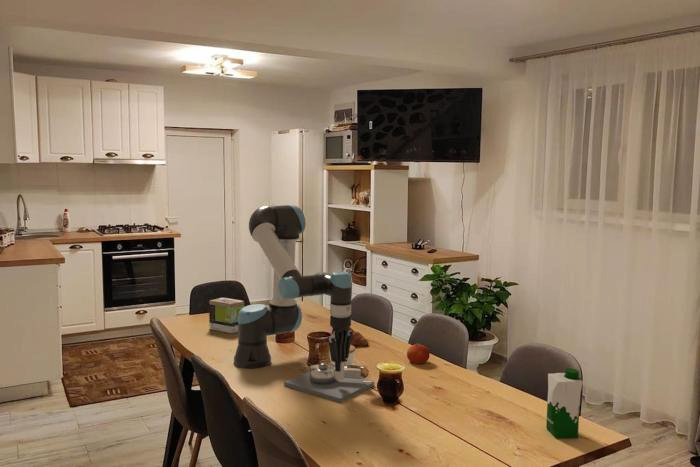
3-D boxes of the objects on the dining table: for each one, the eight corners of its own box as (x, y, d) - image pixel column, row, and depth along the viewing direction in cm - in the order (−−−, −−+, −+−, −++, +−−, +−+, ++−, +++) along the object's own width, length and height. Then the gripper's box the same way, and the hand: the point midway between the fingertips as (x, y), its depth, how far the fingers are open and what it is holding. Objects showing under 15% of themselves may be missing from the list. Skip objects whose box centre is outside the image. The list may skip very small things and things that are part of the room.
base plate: (284, 385, 221) (284, 381, 220) (319, 370, 237) (319, 366, 237) (340, 402, 205) (340, 398, 205) (374, 385, 222) (374, 381, 222)
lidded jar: (352, 371, 238) (352, 348, 237) (325, 368, 240) (326, 346, 239) (357, 362, 248) (357, 340, 247) (331, 360, 250) (332, 338, 249)
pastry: (359, 337, 287) (359, 321, 286) (369, 346, 272) (369, 329, 271) (325, 339, 282) (325, 323, 281) (333, 349, 267) (334, 331, 266)
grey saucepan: (305, 382, 219) (305, 367, 218) (311, 373, 229) (311, 359, 228) (364, 387, 216) (365, 371, 215) (368, 377, 226) (368, 362, 225)
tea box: (245, 329, 296) (245, 300, 294) (230, 334, 287) (230, 304, 286) (223, 325, 304) (222, 296, 302) (208, 329, 295) (208, 299, 294)
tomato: (403, 363, 249) (403, 344, 248) (411, 357, 257) (412, 339, 256) (424, 367, 244) (425, 348, 244) (432, 361, 253) (432, 342, 252)
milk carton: (582, 439, 181) (586, 375, 179) (553, 440, 180) (557, 375, 178) (569, 427, 189) (573, 365, 187) (541, 427, 189) (545, 366, 186)
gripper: (338, 320, 206) (337, 386, 208) (359, 313, 217) (358, 376, 219) (321, 317, 210) (320, 381, 213) (342, 310, 221) (341, 372, 223)
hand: (339, 379), depth 216 cm, fingers closed
